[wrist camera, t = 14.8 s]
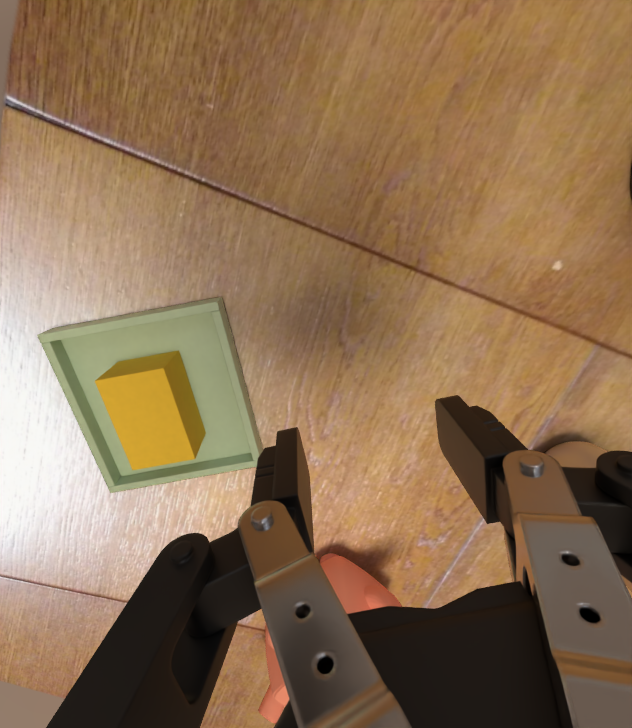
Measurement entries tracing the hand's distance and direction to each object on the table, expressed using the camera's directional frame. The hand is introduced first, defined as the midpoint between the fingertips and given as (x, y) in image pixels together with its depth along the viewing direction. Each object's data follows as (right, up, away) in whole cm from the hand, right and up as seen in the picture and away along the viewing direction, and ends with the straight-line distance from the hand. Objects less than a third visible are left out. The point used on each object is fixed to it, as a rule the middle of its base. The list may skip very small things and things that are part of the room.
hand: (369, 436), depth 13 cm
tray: (-13, 0, +16) cm, 20 cm away
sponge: (-13, 0, +15) cm, 20 cm away
